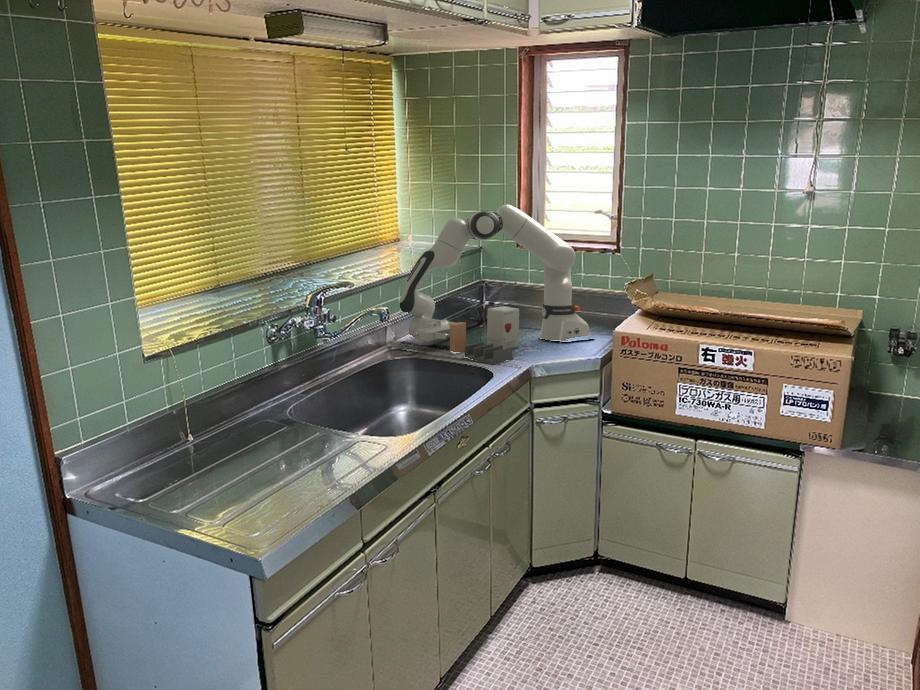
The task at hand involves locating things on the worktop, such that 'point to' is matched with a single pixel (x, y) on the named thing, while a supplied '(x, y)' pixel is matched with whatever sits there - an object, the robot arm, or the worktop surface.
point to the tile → (458, 337)
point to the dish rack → (488, 353)
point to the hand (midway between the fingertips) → (455, 334)
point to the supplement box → (503, 327)
